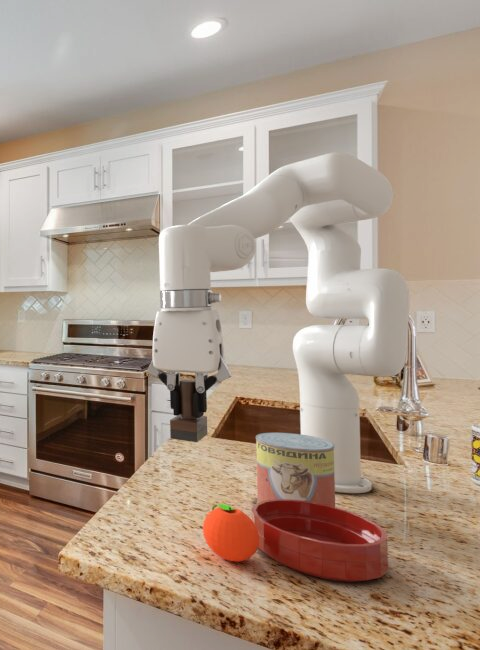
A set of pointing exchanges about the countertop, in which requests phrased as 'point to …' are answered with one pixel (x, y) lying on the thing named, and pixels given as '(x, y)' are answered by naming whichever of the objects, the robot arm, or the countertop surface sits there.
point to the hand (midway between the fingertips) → (188, 414)
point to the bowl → (321, 539)
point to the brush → (188, 416)
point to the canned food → (295, 468)
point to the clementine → (230, 533)
